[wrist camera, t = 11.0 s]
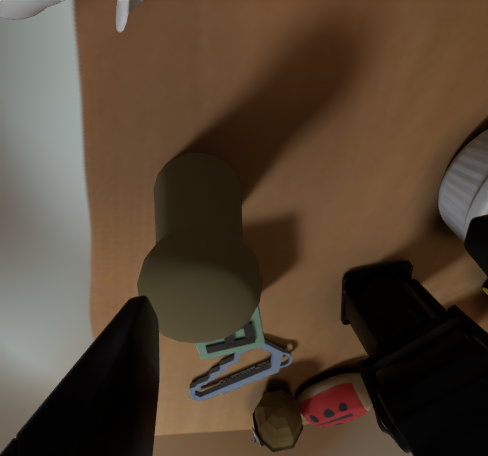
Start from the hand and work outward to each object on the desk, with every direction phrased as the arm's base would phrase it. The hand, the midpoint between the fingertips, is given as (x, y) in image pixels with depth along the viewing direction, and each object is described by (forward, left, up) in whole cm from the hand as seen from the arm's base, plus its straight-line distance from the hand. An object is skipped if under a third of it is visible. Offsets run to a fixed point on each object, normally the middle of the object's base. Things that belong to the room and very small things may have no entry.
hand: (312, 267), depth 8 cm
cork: (-4, -3, -13) cm, 14 cm away
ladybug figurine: (+6, -31, -13) cm, 34 cm away
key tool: (-5, -21, -13) cm, 25 cm away
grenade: (-1, -27, -9) cm, 28 cm away
